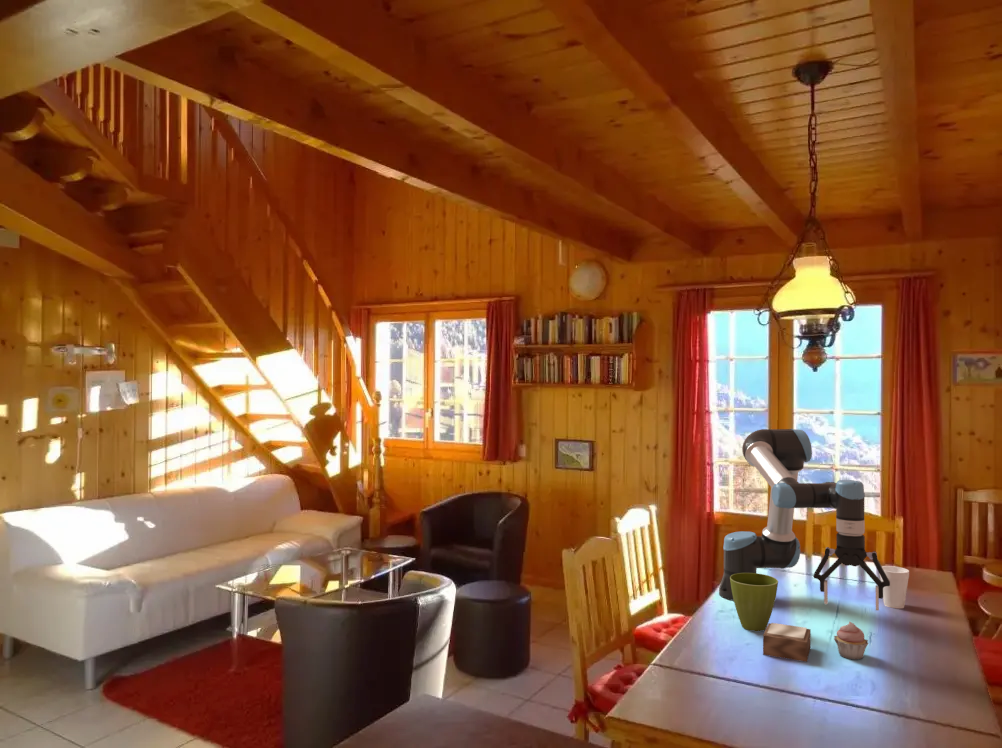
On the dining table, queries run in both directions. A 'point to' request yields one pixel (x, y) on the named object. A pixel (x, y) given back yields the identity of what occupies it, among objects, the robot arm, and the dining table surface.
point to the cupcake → (851, 641)
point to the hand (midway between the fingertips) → (851, 606)
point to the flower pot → (754, 599)
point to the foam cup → (895, 586)
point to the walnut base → (787, 641)
